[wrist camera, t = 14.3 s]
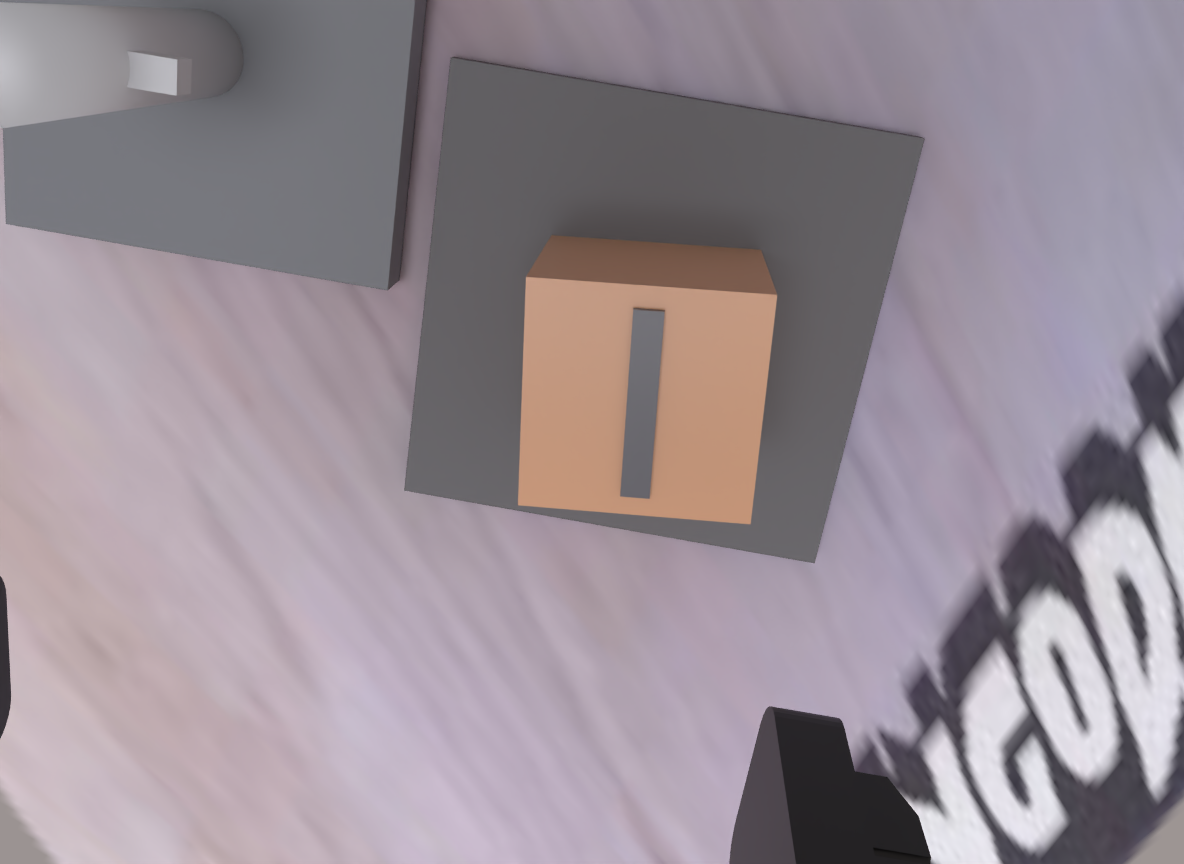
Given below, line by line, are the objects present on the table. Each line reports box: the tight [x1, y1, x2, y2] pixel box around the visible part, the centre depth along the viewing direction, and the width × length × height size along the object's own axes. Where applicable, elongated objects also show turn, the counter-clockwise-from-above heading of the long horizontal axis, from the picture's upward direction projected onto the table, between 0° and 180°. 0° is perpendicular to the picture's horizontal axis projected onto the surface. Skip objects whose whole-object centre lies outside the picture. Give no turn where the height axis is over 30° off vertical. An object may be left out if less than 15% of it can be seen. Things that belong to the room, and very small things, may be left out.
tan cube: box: [518, 235, 777, 524], centre depth 32 cm, size 6×6×6 cm
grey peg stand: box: [0, 0, 427, 290], centre depth 28 cm, size 12×12×12 cm
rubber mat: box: [404, 57, 924, 563], centre depth 35 cm, size 14×14×1 cm
